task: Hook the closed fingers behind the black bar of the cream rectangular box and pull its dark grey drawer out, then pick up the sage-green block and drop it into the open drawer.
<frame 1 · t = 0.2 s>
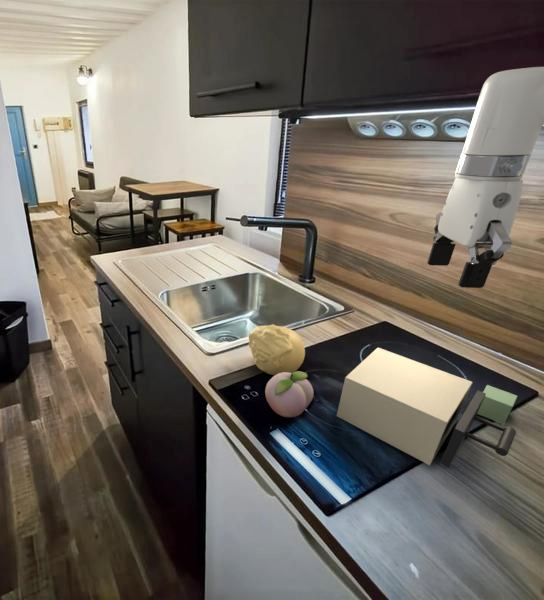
hand: (452, 275, 61), 29 cm above the worktop, tool pointing down, fingers open, 9 cm apart
cream rectangular box: (394, 419, 71), on the worktop
block: (491, 413, 71), on the worktop
dark grey drawer: (435, 414, 65), point 5 cm above the worktop, slide at 1.0 cm
decorative fruit: (284, 414, 74), on the worktop
tan lumpy ball: (274, 367, 87), on the worktop
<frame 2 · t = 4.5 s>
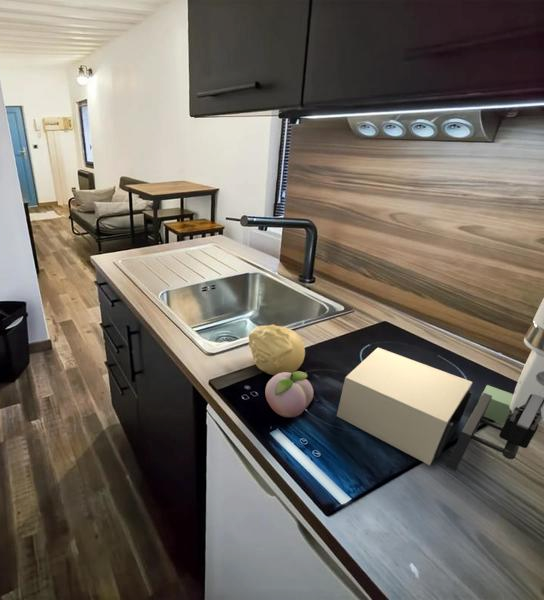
hand: (513, 440, 57), 6 cm above the worktop, tool pointing down, fingers closed
dark grey drawer: (440, 417, 64), point 5 cm above the worktop, slide at 1.9 cm, touching gripper
everything else where it was.
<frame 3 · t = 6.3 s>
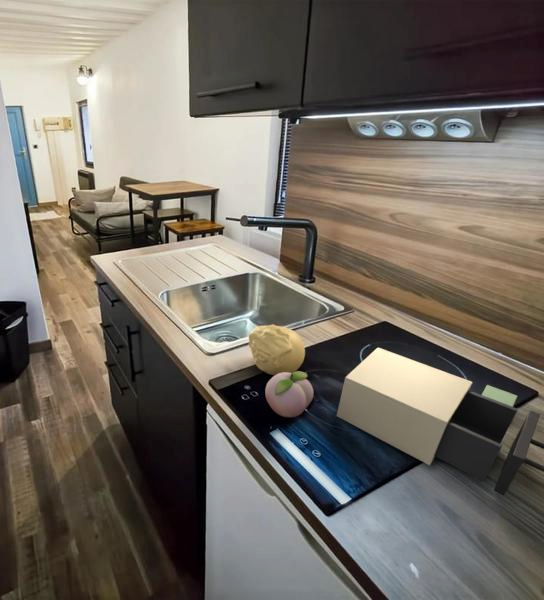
dark grey drawer: (484, 436, 60), point 5 cm above the worktop, slide at 7.7 cm, touching gripper
everything else where it was.
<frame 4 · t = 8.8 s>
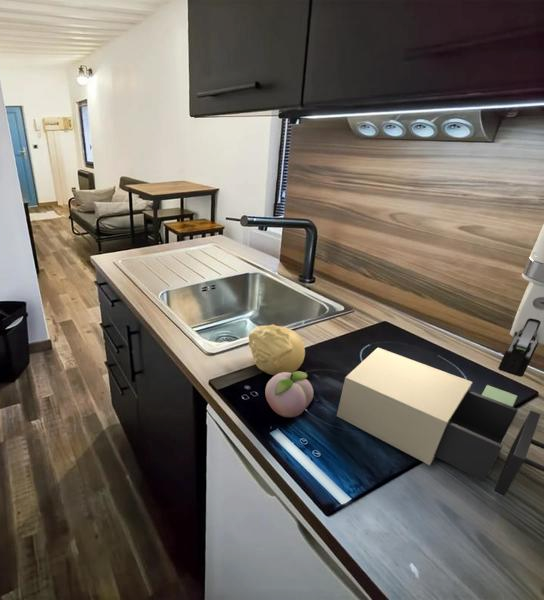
hand: (514, 364, 66), 12 cm above the worktop, tool pointing down, fingers open, 5 cm apart
dark grey drawer: (484, 436, 60), point 5 cm above the worktop, slide at 7.8 cm
everything else where it was.
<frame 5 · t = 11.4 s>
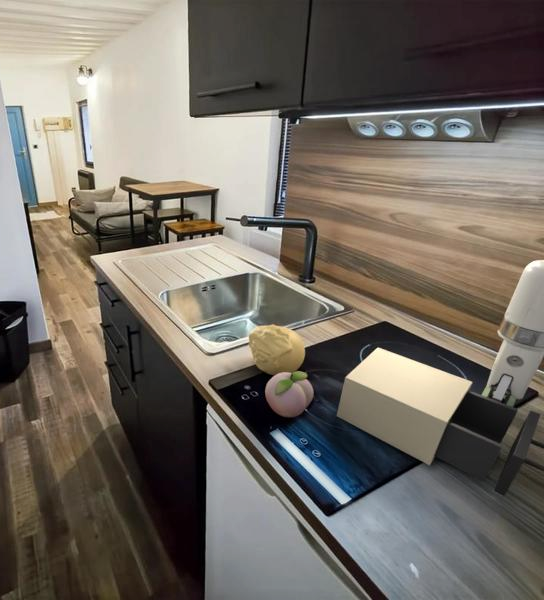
hand: (491, 411, 71), 0 cm above the worktop, tool pointing down, fingers closed on block, 4 cm apart
block: (491, 413, 71), on the worktop, touching gripper
everything else where it was.
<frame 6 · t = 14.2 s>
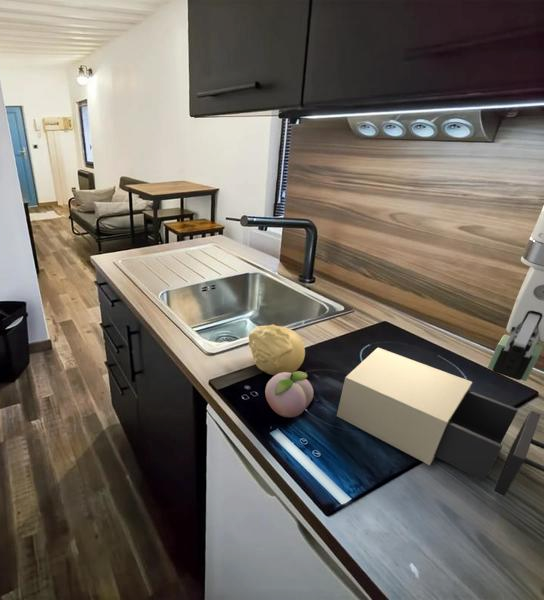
hand: (510, 367, 56), 18 cm above the worktop, tool pointing down, fingers closed on block, 4 cm apart
block: (509, 368, 56), point 17 cm above the worktop, touching gripper
everything else where it was.
when the fingers open (8 cm above the worktop, at t = 17.0 s): block drops 6 cm, resting on dark grey drawer.
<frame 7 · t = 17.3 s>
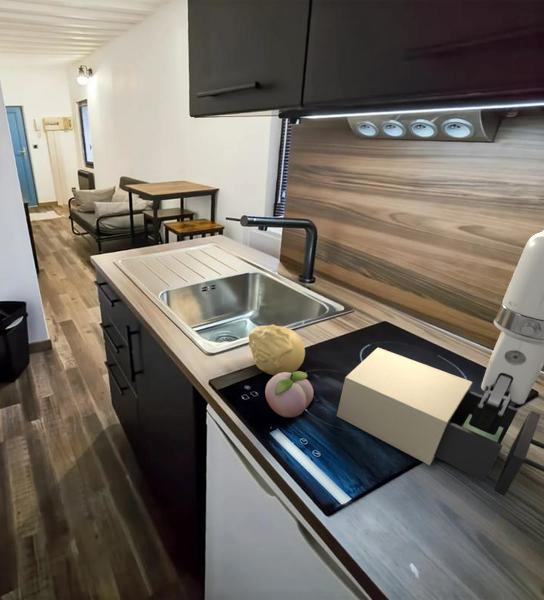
hand: (487, 416, 59), 9 cm above the worktop, tool pointing down, fingers open, 6 cm apart
block: (473, 446, 62), point 2 cm above the worktop, touching dark grey drawer
dark grey drawer: (484, 436, 60), point 5 cm above the worktop, slide at 7.8 cm, touching block
everything else where it was.
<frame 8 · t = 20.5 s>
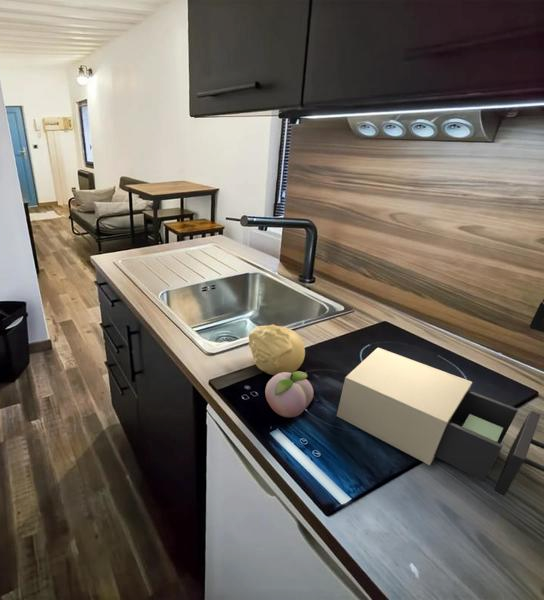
nothing on the worktop moved.
at the end: dark grey drawer slide at 7.8 cm; block inside the target area in the dark grey drawer (0.0 cm from its centre), point 2.0 cm above the cream rectangular box's base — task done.
